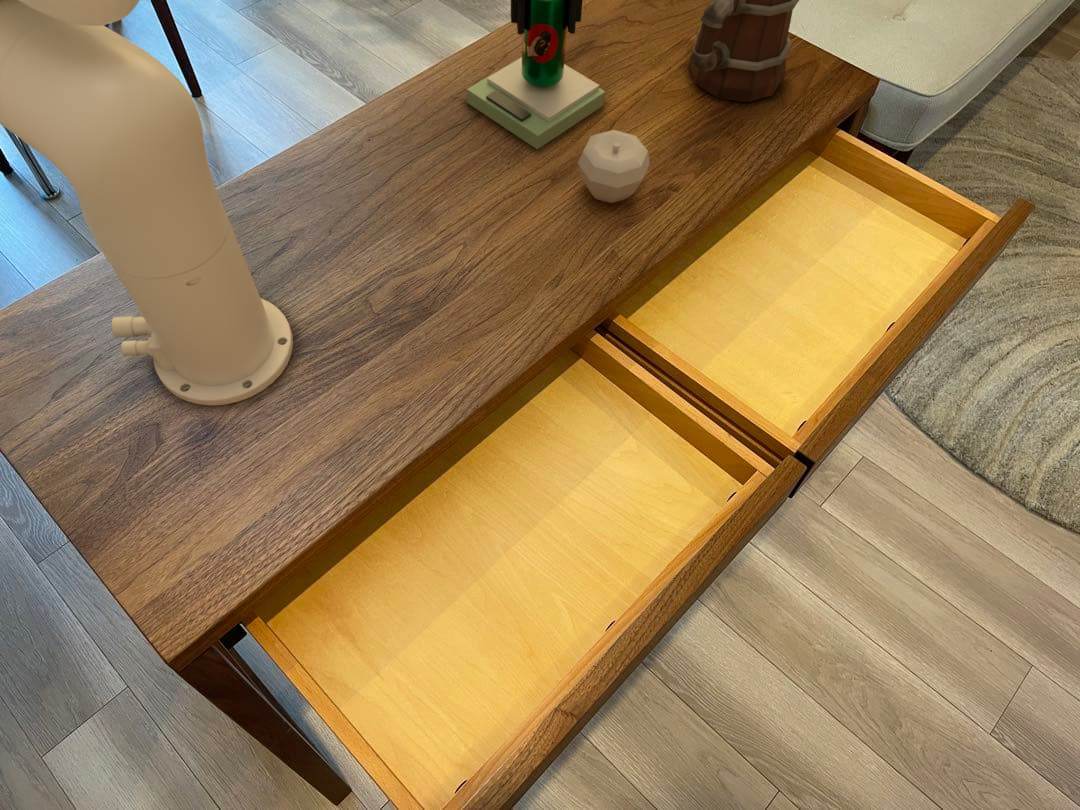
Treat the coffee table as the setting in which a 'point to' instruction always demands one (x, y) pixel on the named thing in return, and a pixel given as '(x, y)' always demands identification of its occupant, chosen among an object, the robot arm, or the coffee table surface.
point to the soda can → (544, 41)
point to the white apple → (613, 165)
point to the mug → (742, 48)
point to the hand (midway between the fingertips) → (545, 25)
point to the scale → (535, 102)
